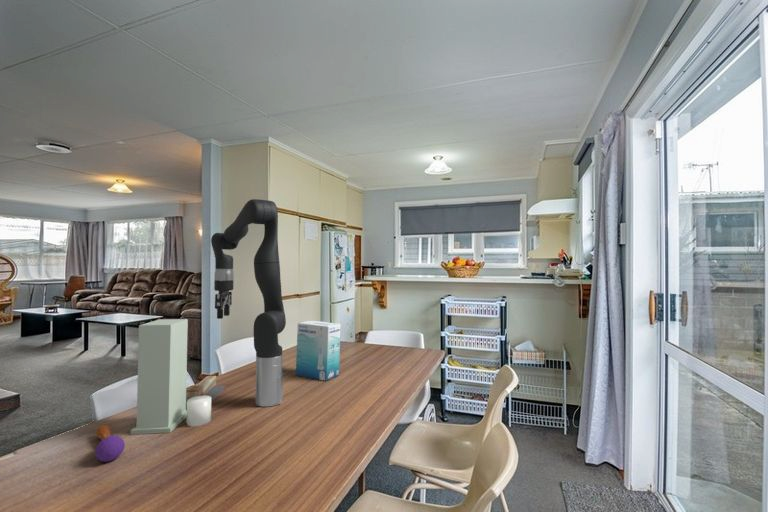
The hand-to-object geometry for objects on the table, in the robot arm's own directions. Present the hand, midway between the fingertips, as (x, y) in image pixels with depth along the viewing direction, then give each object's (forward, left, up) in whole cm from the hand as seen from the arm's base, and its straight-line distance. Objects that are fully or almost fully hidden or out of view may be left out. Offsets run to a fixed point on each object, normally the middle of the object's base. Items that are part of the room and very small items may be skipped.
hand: (223, 317), depth 151 cm
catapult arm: (+3, +14, -27) cm, 31 cm away
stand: (+6, +38, -28) cm, 48 cm away
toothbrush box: (-40, -6, -28) cm, 49 cm away
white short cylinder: (-5, +38, -28) cm, 48 cm away
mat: (+2, +17, -28) cm, 33 cm away
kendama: (+13, +53, -29) cm, 62 cm away
